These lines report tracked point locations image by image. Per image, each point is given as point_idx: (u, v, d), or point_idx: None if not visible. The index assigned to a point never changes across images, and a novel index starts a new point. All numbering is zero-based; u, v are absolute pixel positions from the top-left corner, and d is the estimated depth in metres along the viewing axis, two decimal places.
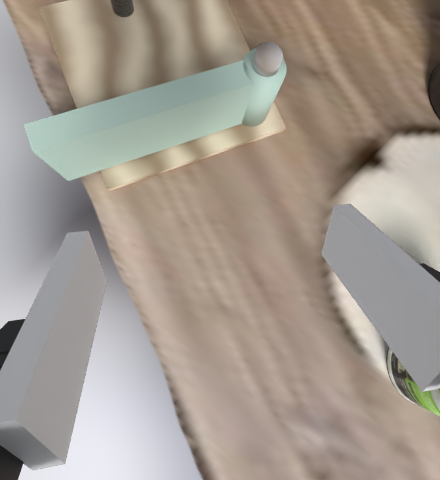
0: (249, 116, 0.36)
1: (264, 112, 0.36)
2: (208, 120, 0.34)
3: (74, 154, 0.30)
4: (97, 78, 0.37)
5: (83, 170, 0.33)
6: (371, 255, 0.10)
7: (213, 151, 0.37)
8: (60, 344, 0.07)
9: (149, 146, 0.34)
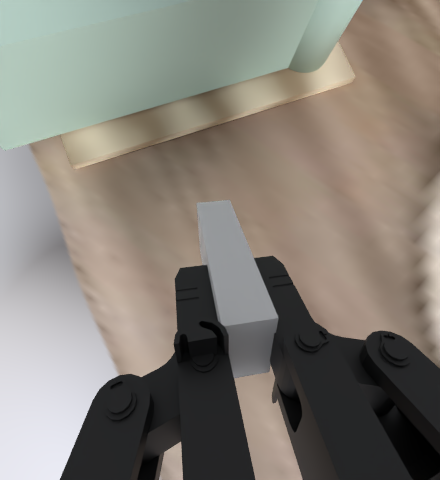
0: (306, 50, 0.22)
1: (331, 43, 0.22)
2: (240, 50, 0.20)
3: None
4: None
5: (26, 131, 0.20)
6: None
7: (244, 109, 0.23)
8: None
9: (141, 93, 0.20)
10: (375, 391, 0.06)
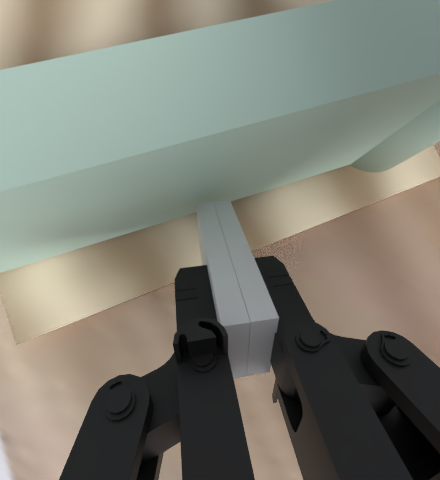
0: (388, 153, 0.14)
1: None
2: (291, 164, 0.12)
3: None
4: (8, 52, 0.15)
5: None
6: None
7: (287, 233, 0.15)
8: None
9: (123, 224, 0.12)
10: (375, 391, 0.06)
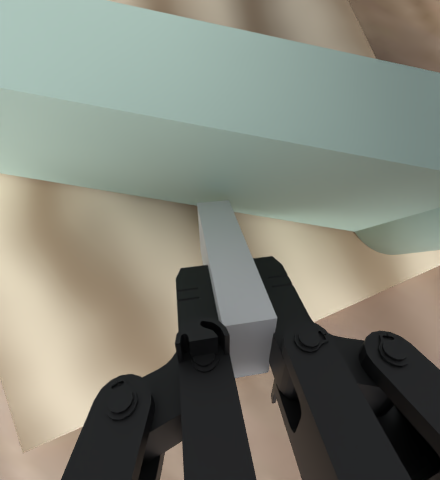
0: (391, 236, 0.13)
1: (436, 249, 0.13)
2: (285, 199, 0.12)
3: None
4: None
5: None
6: None
7: None
8: None
9: (110, 180, 0.13)
10: (374, 391, 0.06)
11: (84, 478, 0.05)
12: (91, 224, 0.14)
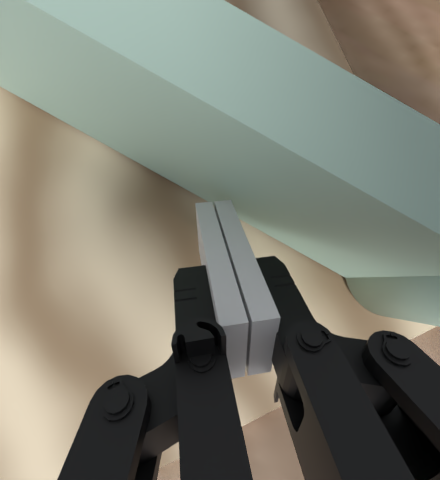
0: (377, 292, 0.13)
1: (418, 321, 0.12)
2: (284, 217, 0.12)
3: None
4: None
5: None
6: (226, 248, 0.10)
7: None
8: None
9: (129, 144, 0.13)
10: (377, 390, 0.06)
11: (80, 479, 0.05)
12: (77, 294, 0.14)
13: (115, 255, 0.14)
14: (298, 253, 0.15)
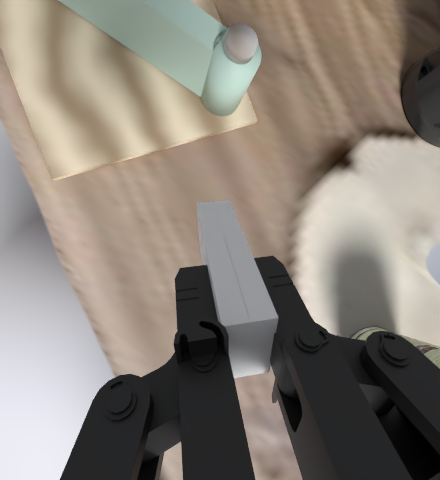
0: (205, 92, 0.32)
1: (217, 101, 0.32)
2: (164, 51, 0.30)
3: None
4: (39, 41, 0.31)
5: None
6: None
7: (177, 141, 0.34)
8: None
9: (102, 19, 0.30)
10: (375, 391, 0.06)
11: (83, 478, 0.05)
12: (79, 87, 0.32)
13: (95, 73, 0.32)
14: (180, 85, 0.34)
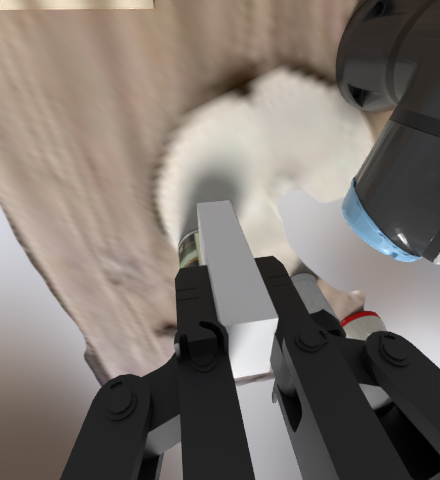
0: None
1: None
2: None
3: None
4: None
5: None
6: None
7: (51, 6, 0.30)
8: None
9: None
10: (375, 391, 0.06)
11: (83, 478, 0.05)
12: None
13: None
14: None
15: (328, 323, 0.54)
